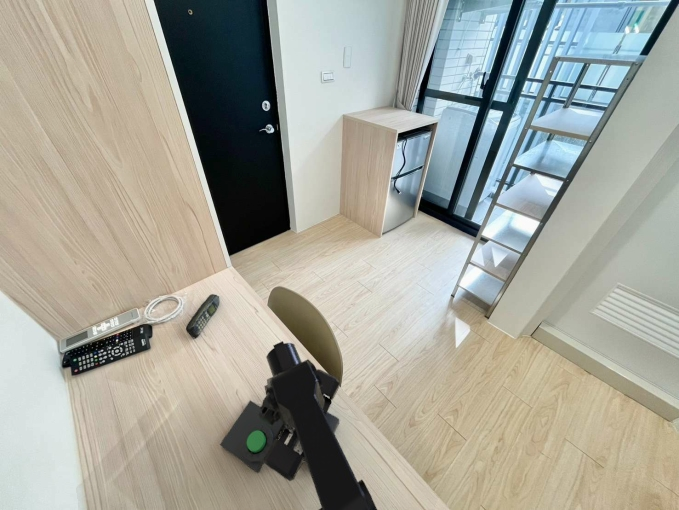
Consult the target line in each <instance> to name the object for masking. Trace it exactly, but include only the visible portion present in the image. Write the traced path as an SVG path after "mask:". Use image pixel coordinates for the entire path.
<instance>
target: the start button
mask: <svg viewBox="0 0 679 510" xmlns="http://www.w3.org/2000/svg"><path fill="white" fill-rule="evenodd" d="M265 444H266V437H265V435H264V434H263V433H262V432H261V431H254V432H252V433H251V434H250V435H249V437H248V439H247V447H248V449H249V450H250V451H252V452H254V453H257V452H260V451H261V450H262V449H263V448H264V446H265Z"/></svg>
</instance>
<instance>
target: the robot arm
mask: <svg viewBox="0 0 679 510" xmlns="http://www.w3.org/2000/svg"><path fill="white" fill-rule="evenodd" d="M272 346H273V348H272V349H271V350H270V351H268V353H267V355H266V356H265V357H266V361H267V363H268V366H269V370H270V372H271V375H272V376H271V377H269V378H267V379H266V385H264V391H265V397H264V398H263V400H262V404H261V406H260V409H261V411H260V413H259V414H258V415H259V417H260V418H261V419H262V420H263V421H264V422H266V423H268V424H270V425H271V426H272V425H273V424H274V422H275V421H276V422H278V420H279V419H280V420H281V421H282V423H283V424H284V425H285V427H286V426H287V427H289V426H291V427H290V428H289V430H288V429H286V428H285V427H284V428H283V430H282V432H283V433H282V432H281V434H282V435H281V434H280V435H279V437H278V439H279V440H278V439H276V438H275V440H274V442H273V443H272V445H271V447H270V449H269V450H268V452H267V454H266V456H265V457H264V460H265V462H264V464H265V465H266V466H268V467H269V468H270V469H272V470H273V471H274V472H276V473H277V474H279V475H280V476H281V477H283V478H284V479H286V480H287V481H288V482H292V481H294V480H295V479H296V477H297V475H298V472H299V470H300V469H301V466H302V465H303V463H304V461H303V459H304V458H305V459H306V462H307V463H306V465H307V468H308V470H309V474H310V476H311V480H312V482H313V486H314V489H315V492H316V495H317V497H318V501H319V504H320V506H321V507H320V508H319V509H318V510H378V509H377V506H376V503H375V501H374V499H373V497H372V495H371V493H370V491H369V488H368V487H367V485H366V483H365V482H364V479H360V480H359V481H358V480H357V477H356V475H355V474H354V471H353V469H352V467H351V465H350V464H349V460H348V459H347V457H346V455H345V452H344V451H343V448H342V447H341V445H340V442H339V441H338V439H337V437H336V434H334V432H333V430H332V428H331V426H330V424H329V422H328V420H327V418H326V416H325V414H326V413H327V412H328V411H329V409H330V407H331V405H332V401H333V400H334V399H335V397H336V395H337V393H338V390H339V388H340V381H339V379H338V378H337V377H336V376H333V375H332V374H329V373H327V372H326V371H325V370H322V369H319V368H318V369H317V367H316V366H315V364H314V363H313V362H312V361H311V360H310V359H309V358H307V359H306V360H304V361H302V359H301V357H300V355H299V352H298V349H297V347H296V345H295V343H292V342H284V341H283V340H282V341H280V342H278V343H276V344H273V345H272ZM293 431H294V433H293Z"/></svg>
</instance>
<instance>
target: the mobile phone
mask: <svg viewBox="0 0 679 510" xmlns="http://www.w3.org/2000/svg"><path fill="white" fill-rule="evenodd" d="M219 305H220V296H219V295H217V294H213V293H211V294H209V295H208V297H206V299H205V300H204V301H203V302H202V303H201V305H200V306H199V308H198V309H197V310H196V312H194V314H193V316H192V317H191V318H190V319H189V322H188V323H187V324H186V327H185V331H186V333H187V334H188V335H189V336H190V337H191V338H193V339H197V338H199V336H200V334H201V332H203V330H204V328H205V326H206V325H207V324H208V322H209V321H210V319H211V318H212V317H213V315H215V313H216V312H217V309H218V307H219Z"/></svg>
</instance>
